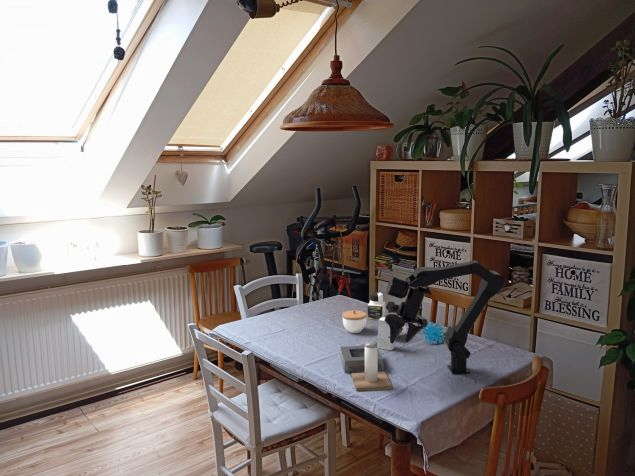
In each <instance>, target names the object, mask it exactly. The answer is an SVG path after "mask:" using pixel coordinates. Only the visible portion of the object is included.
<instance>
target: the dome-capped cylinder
mask: <svg viewBox="0 0 635 476" xmlns="http://www.w3.org/2000/svg"><path fill="white" fill-rule="evenodd" d="M364 346H365V372H364V373H365V381H367V382H376V381H377V380H378V372H379V371H378V350H379V348H378V342H376V341H372V340H371V341H365V342H364Z"/></svg>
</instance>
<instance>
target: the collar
mask: <svg viewBox="0 0 635 476" xmlns="http://www.w3.org/2000/svg"><path fill="white" fill-rule="evenodd" d="M339 354H340V355H339V357H340V361H341V364H342V365H341V366H342V369H343V371H344V373H346V374H347V373H348V374H349V373H350V374H351V373H365V345H348V346H347V345H346V346H340V347H339ZM378 372H384V358H383V357H382V354H381V351H380V350H379V349H378Z"/></svg>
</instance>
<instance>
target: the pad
mask: <svg viewBox="0 0 635 476" xmlns="http://www.w3.org/2000/svg"><path fill="white" fill-rule="evenodd" d="M386 373H387V372H386V371H378V380H377V381H376V382H367V381H365V372H351V378H352V381H353V384H354V388H355V390H356V392H358V391H359V392H360V391H361V392H363V391H378V390H380V391H382V390H393V386H392V383H391V382H390V380H389V377H388V376H387V374H386Z"/></svg>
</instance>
